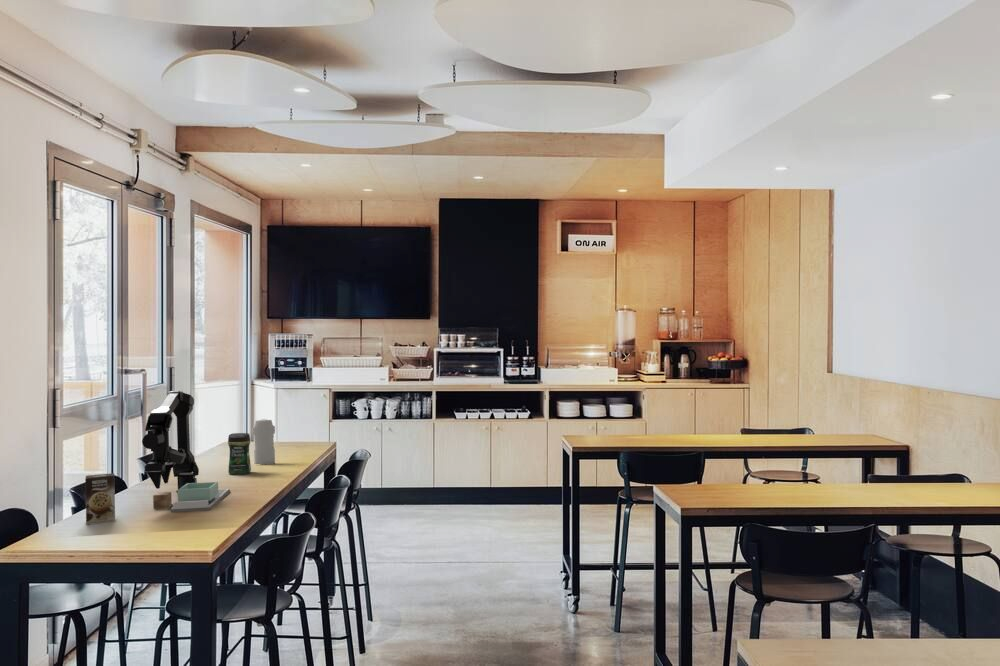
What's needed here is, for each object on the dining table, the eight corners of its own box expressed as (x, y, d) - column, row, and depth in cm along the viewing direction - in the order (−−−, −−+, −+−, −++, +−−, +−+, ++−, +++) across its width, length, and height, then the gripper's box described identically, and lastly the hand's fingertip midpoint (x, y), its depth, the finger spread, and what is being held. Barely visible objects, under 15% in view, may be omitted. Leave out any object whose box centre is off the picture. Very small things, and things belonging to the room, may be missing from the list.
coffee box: (86, 525, 258) (84, 478, 258) (86, 520, 264) (85, 475, 264) (115, 521, 262) (114, 475, 262) (115, 517, 268) (114, 472, 268)
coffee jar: (226, 475, 340) (225, 434, 340) (232, 472, 348) (230, 432, 348) (248, 474, 340) (246, 434, 340) (253, 471, 348) (251, 431, 348)
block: (153, 508, 280) (153, 495, 280) (157, 505, 285) (157, 492, 285) (167, 507, 280) (167, 494, 280) (171, 504, 285) (171, 491, 285)
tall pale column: (252, 465, 364) (251, 420, 363) (254, 463, 368) (253, 419, 367) (275, 464, 365) (273, 419, 364) (276, 462, 369) (275, 418, 368)
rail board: (170, 512, 273) (170, 502, 273) (194, 493, 303) (194, 485, 303) (210, 510, 275) (210, 500, 275) (230, 491, 305) (230, 483, 305)
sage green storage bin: (178, 505, 278) (177, 489, 278) (187, 498, 290) (187, 483, 290) (210, 504, 280) (210, 488, 280) (218, 496, 291) (218, 481, 291)
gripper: (175, 447, 274) (176, 490, 274) (190, 439, 293) (191, 479, 293) (143, 449, 273) (144, 491, 273) (160, 441, 291) (161, 481, 292)
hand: (162, 485), depth 283 cm, fingers open, 9 cm apart
